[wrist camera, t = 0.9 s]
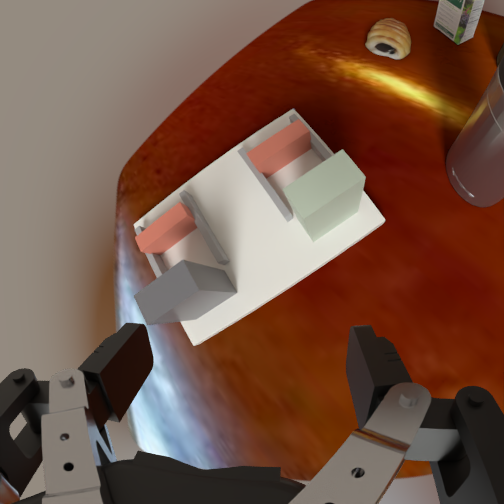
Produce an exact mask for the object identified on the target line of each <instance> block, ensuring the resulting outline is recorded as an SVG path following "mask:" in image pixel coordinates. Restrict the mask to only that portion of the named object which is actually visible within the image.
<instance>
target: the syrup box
mask: <svg viewBox="0 0 504 504" xmlns="http://www.w3.org/2000/svg"><path fill="white" fill-rule="evenodd" d="M484 1H485V0H439V4H438V9H437V14H436V18H435V22H434V27H435V28H437V29H438V30H440V31H441V32H442V33H443V34H445V35H446V36H447V37H449V38H450V39H451V40H452V41H454V42H455V43H456V44H457V45H459V44H461V43H463V42H465V41H467V40H468V39H470V38H472V37H473V35H474V32H475V29H476V26H477V23H478V20H479V17H480V14H481V11H482V8H483V5H484Z"/></svg>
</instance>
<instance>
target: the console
mask: <svg viewBox="0 0 504 504" xmlns="http://www.w3.org/2000/svg"><path fill="white" fill-rule="evenodd" d="M333 155H334V153H333V152H332V151H331V150H330V149H329V148H328V146H327V145H326V144H325V143H324V142H323V141H322V139H321V138H320V137H319V136H318V135H317V134H316V133H315V132H314V130H313V129H312V128H311V127H310V126H309V125H308V124H307V123H306V122H305V121H304V119H303V118H302V117H301V116H300V115H299V114H298V113H297V112H296V111H295V110H294V109H292V110H290V111H289V112H287V113H285V114H284V115H282V116H281V117H279V118H278V119H276V120H274V121H273V122H271V123H270V124H268V125H267V126H265V127H264V128H262V129H261V130H259V131H258V132H256V133H255V134H253V135H252V136H250V137H249V138H247V139H246V140H244V141H243V142H241V143H240V144H238V145H237V146H236V147H234V148H233V149H231V150H230V151H228V152H227V153H226V154H224V155H223V156H221V157H220V158H219V159H217V160H216V161H214V162H213V163H212V164H210V165H209V166H207V167H206V168H205V169H203V170H202V171H201V172H199V173H198V174H197V175H195V176H194V177H193V178H191V179H190V180H189V181H187V182H186V183H185V184H183V185H182V186H181V187H180V188H178V189H177V190H176V191H174V192H173V193H172V194H171V195H169V196H168V197H167V198H166V199H164V200H163V201H162V202H161V203H159V204H158V205H157V206H156V207H154V208H153V209H152V210H151V211H149V212H148V213H147V214H146V215H145V216H143V217H142V218H141V219H140V220H139V221H137V222H136V223H135V224H134V227H135V231H136V234H137V236H136V237H135V239H136V241H137V244H138V246H139V248H140V250H141V252H144V253H145V254H146V256H147V258H148V260H149V262H150V264H151V266H152V268H153V271H154V273H155V275H156V277H157V278H158V277H160V276H161V275H162V274H164V273H165V272H166V271H168V270H169V269H170V268H172V267H173V266H174V265H176V264H177V263H179V262H180V261H181V260H186V261H190V262H194V263H198V264H202V265H206V266H209V267H213V268H217V269H221V270H224V271H225V272H226V274H227V276H228V277H229V279H230V281H231V283H232V284H233V286H234V288H235V289H236V291H237V293H236V294H235V295H233V296H232V297H230V298H229V299H227V300H226V301H224V302H223V303H221V304H220V305H218V306H216V307H215V308H213V309H212V310H210V311H209V312H207V313H206V314H204V315H202V316H201V317H199V318H198V319H196V320H188V321H180V322H181V324H182V326H183V327H184V329H185V331H186V333H187V335H188V337H189V338H190V340H191V342H192V344H193V346H195V345H198V344H200V343H202V342H204V341H205V340H207V339H209V338H210V337H212V336H214V335H215V334H217V333H219V332H220V331H222V330H224V329H225V328H227V327H228V326H230V325H232V324H233V323H235V322H237V321H238V320H240V319H241V318H243V317H245V316H246V315H248V314H249V313H251V312H253V311H254V310H256V309H257V308H259V307H261V306H262V305H264V304H265V303H267V302H268V301H270V300H271V299H273V298H275V297H276V296H278V295H279V294H281V293H282V292H284V291H285V290H287V289H289V288H290V287H292V286H293V285H295V284H296V283H298V282H299V281H301V280H302V279H304V278H305V277H307V276H308V275H310V274H311V273H313V272H314V271H316V270H317V269H319V268H320V267H322V266H323V265H325V264H326V263H328V262H329V261H331V260H332V259H333V258H335V257H336V256H338V255H339V254H341V253H342V252H344V251H345V250H347V249H348V248H349V247H351V246H352V245H354V244H355V243H357V242H358V241H359V240H361V239H362V238H364V237H365V236H367V235H368V234H369V233H371V232H372V231H374V230H375V229H376V228H378V227H379V226H381V225H382V224H383V223H384V222H385V219H384V217H383V216H382V215H381V213H380V212H379V210H378V209H377V208H376V206H375V205H374V204H373V202H372V201H371V200H370V198H369V197H368V196H367V194H366V193H365V192H364V191H363V192H362V196H361V201H360V205H359V210H358V212H357V213H355V214H354V215H352V216H351V217H350V218H348V219H347V220H345V221H344V222H342V223H341V224H339V225H338V226H336V227H335V228H334V229H332V230H331V231H329V232H328V233H326V234H325V235H323V236H322V237H320V238H319V239H317V240H316V241H315V242H313V241H312V240H311V238H310V237H309V235H308V234H307V232H306V231H305V229H304V228H303V226H302V225H301V224H300V222H299V221H298V219H297V217H296V215H295V213H294V211H293V209H292V207H291V205H290V203H289V201H288V199H287V197H286V195H285V194H284V192H283V190H282V189H283V188H285V187H286V186H288V185H289V184H291V183H292V182H294V181H295V180H297V179H298V178H300V177H301V176H303V175H304V174H306V173H307V172H309V171H310V170H312V169H313V168H315V167H316V166H318V165H319V164H321V163H322V162H324V161H325V160H327V159H328V158H330V157H331V156H333Z"/></svg>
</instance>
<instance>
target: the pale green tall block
mask: <svg viewBox="0 0 504 504" xmlns="http://www.w3.org/2000/svg"><path fill="white" fill-rule="evenodd" d="M365 178H366V177H365V176H364V174H363V173H362V172H361V171H360V169H359V168H358V167H357V166H356V165H355V163H354V162H353V161H352V160H351V159H350V157H349V156H348V155H347V154H346V153H345V151H344V150H343V149H342V150H341V151H339V152H338V153H336V154H334V155H333V156H331V157H330V158H328V159H327V160H325V161H324V162H322V163H321V164H319V165H318V166H316V167H315V168H313V169H312V170H310V171H309V172H307V173H306V174H304V175H303V176H301V177H300V178H298V179H297V180H295V181H294V182H292V183H291V184H289V185H288V186H286V187H285V188H283V189H282V190H283V192H284V194H285V195H286V197H287V199H288V201H289V203H290V205H291V207H292V209H293V211H294V213H295V215H296V217H297V219H298V221H299V222H300V224H301V225H302V226H303V228H304V229H305V231H306V232H307V234H308V235H309V237H310V238H311V240H312V241H313V242H315V241H316V240H317V239H319V238H320V237H322V236H323V235H325V234H326V233H328V232H329V231H331V230H332V229H334V228H335V227H336V226H338V225H339V224H341V223H342V222H344V221H345V220H347V219H348V218H350V217H351V216H352V215H354V214H355V213H357V212H358V210H359V205H360V201H361V196H362V192H363V187H364V182H365Z"/></svg>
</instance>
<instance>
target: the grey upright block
mask: <svg viewBox="0 0 504 504" xmlns="http://www.w3.org/2000/svg"><path fill="white" fill-rule="evenodd" d="M236 293H237V291H236V289H235V288H234V286H233V284H232V283H231V281H230V279H229V277H228V276H227V274H226V272H225V271H224V270H221V269H217V268H213V267H209V266H206V265H202V264H198V263H194V262H190V261H186V260H181V261H180V262H179V263H177V264H176V265H174V266H173V267H172V268H170V269H169V270H168V271H166V272H165V273H164V274H162V275H161V276H160V277H158V278H157V279H156V280H154V281H153V282H151V283H150V284H149V285H147V286H146V287H145V288H143V289H142V290H141V291H139V292H138V293H137V294H135V295H134V298H135V300H136V302H137V304H138V306H139V308H140V310H141V313H142V315H143V317H144V319H145V321H146V323H147V325H153V324H163V323H172V322H180V321H188V320H196V319H198V318H199V317H201V316H202V315H204V314H206V313H207V312H209V311H210V310H212V309H213V308H215V307H216V306H218V305H220V304H221V303H223V302H224V301H226V300H227V299H229V298H230V297H232V296H233V295H235V294H236Z"/></svg>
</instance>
